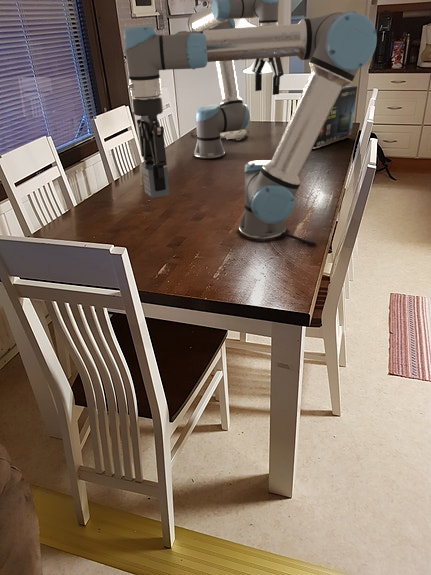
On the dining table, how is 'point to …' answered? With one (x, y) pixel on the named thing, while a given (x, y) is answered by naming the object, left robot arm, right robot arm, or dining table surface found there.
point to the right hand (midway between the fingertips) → (156, 186)
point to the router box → (339, 117)
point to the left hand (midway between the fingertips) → (266, 92)
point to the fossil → (234, 134)
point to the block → (150, 183)
